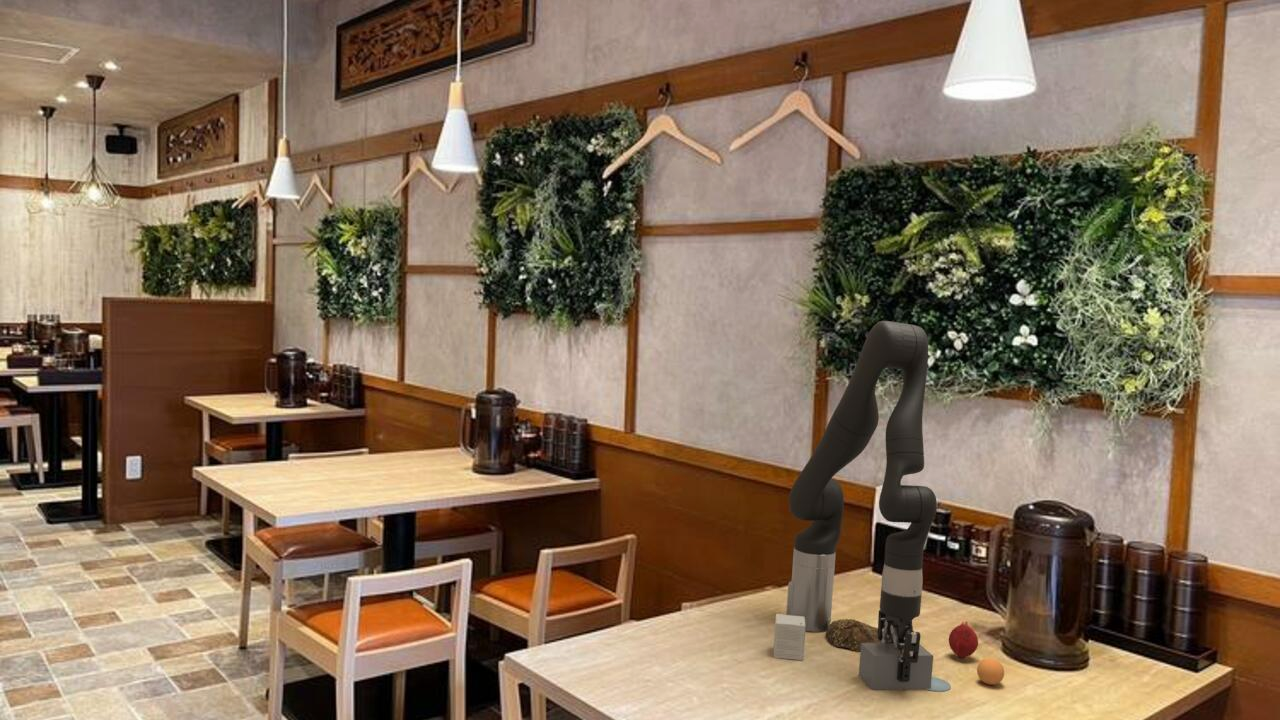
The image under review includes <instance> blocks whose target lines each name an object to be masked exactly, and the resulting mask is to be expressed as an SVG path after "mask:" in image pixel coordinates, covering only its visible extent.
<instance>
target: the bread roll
mask: <svg viewBox="0 0 1280 720" xmlns="http://www.w3.org/2000/svg"><path fill="white" fill-rule="evenodd" d="M825 638H826V640H827V641H828V643H829V644H830V645H831V646H832V645H833V647H834V646H835V648H843V649H845V648H846V649H849V650H851V651H852V652H854V651H855V653H858V652H860V650H861V643H881V640H878V627H876V626H871V625H870V624H866V623H865V622H861V621H859V620H855V619H848V618H843V619H837V620H833V621H832V622H831V623H830V625H829V626H828V628H827V630H826V631H825Z"/></svg>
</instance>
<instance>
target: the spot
mask: <svg viewBox="0 0 1280 720" xmlns="http://www.w3.org/2000/svg"><path fill="white" fill-rule="evenodd" d="M951 687H952V686H951V684H950V683H949V682H948V681H946V680H944V679H941V678H939V677H937V676H932V680H931V688H929V689H926V690H927V691H930V692H939V693H941V692H942V693H943V692H947V691H950V690H951Z"/></svg>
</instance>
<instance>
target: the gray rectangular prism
mask: <svg viewBox="0 0 1280 720" xmlns="http://www.w3.org/2000/svg"><path fill="white" fill-rule="evenodd" d="M899 644H900V645H904V643H899ZM903 652H904V650H902V653H903ZM912 654H913V651H912ZM898 661H899V660H898V652H897V650H895V648H894V643H861V650H860V653H859V663H858V665H859V666H858V677H859V676H860V677H861V678H860V677H859V678H860V679H861V680H862V682H863V683H865V684H866V686H867V687H868V688H869V689H872V690H873V691H885V690H886V691H895V690H897V689H898V690H897V691H901V689H902V690H903V689H904V690H903V691H906V690H905V689H910V690H909V691H911V689H916V691H917V689H918V691H919V689H929V688H931V680H932V677H933V676H932V675H933V666H934V665H933V664H934V654H932V653H931V652H930V651H929V650H927V649H926V648H925V647H924V646H922V644H920V645H919V654H918V662H917V663H911V667H910V680H909V681H908V682H899V681H898V680H897V673H898ZM872 690H871V691H872Z"/></svg>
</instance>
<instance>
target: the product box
mask: <svg viewBox="0 0 1280 720" xmlns="http://www.w3.org/2000/svg"><path fill="white" fill-rule="evenodd" d="M805 641H806V631H805V617H802V616H792V615H786V614H781V613H775V620H774V636H773V658H775V659H785V660H795V661H796V660H797V661H804V657H805Z"/></svg>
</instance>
